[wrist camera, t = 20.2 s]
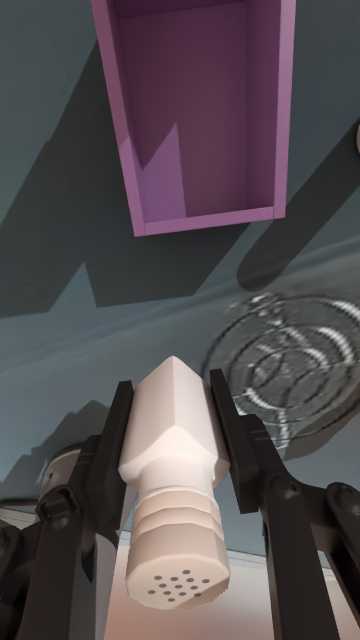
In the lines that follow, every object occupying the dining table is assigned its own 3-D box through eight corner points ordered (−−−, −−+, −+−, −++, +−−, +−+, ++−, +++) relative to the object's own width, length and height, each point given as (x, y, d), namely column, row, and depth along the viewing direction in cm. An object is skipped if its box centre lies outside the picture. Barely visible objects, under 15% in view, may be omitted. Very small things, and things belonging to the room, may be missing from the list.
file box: (252, 221, 24) (285, 217, 17) (144, 235, 24) (134, 237, 17) (252, -6, 18) (304, -154, 11) (107, 14, 18) (68, -119, 11)
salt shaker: (131, 385, 15) (82, 593, 7) (172, 348, 14) (179, 531, 6) (172, 416, 17) (177, 627, 8) (213, 383, 16) (270, 580, 7)
